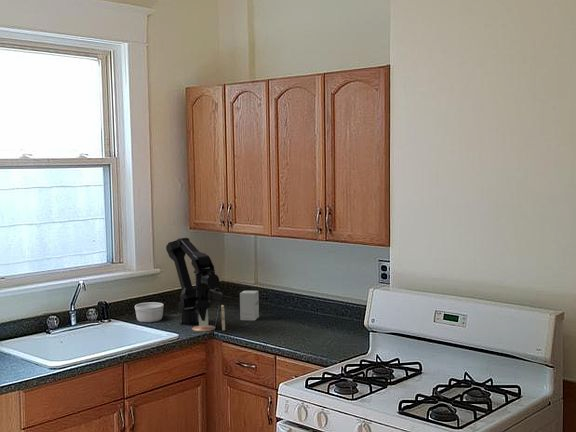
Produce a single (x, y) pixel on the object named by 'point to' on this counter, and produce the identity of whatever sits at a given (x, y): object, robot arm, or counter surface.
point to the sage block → (205, 319)
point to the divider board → (223, 317)
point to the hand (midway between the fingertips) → (203, 319)
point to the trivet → (203, 328)
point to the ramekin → (149, 311)
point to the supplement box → (249, 305)
